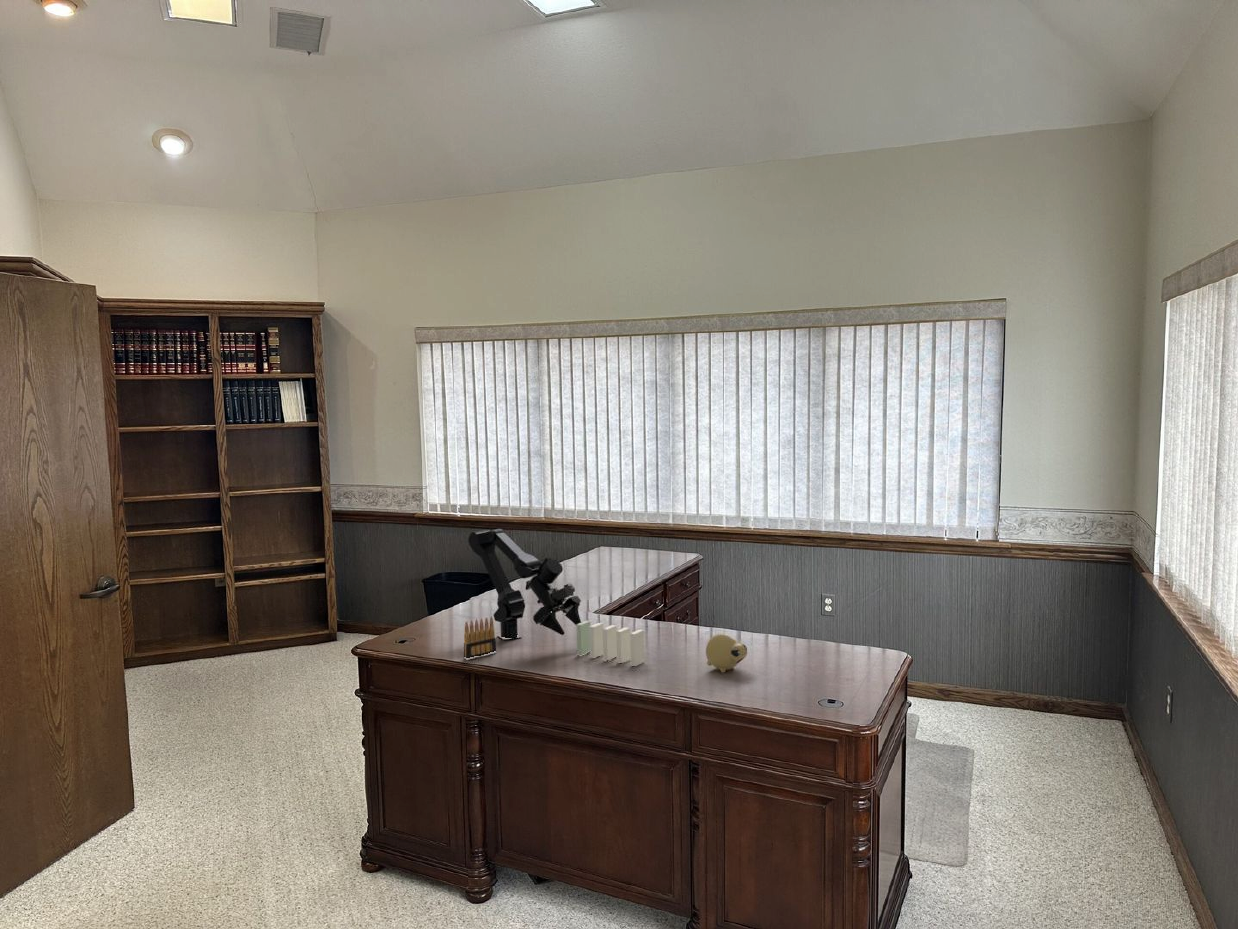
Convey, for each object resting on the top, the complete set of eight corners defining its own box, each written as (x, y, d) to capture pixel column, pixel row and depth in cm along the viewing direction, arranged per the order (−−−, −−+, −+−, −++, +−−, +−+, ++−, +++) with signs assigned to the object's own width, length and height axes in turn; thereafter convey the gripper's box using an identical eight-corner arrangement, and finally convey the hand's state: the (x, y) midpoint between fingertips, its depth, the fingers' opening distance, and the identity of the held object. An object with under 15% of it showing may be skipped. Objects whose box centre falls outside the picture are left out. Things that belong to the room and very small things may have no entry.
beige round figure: (735, 678, 245) (735, 642, 244) (699, 671, 253) (699, 635, 252) (752, 669, 253) (752, 634, 252) (717, 662, 260) (717, 627, 260)
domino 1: (577, 655, 270) (576, 624, 269) (586, 651, 274) (586, 620, 273) (581, 656, 269) (580, 625, 268) (590, 652, 273) (590, 621, 272)
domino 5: (630, 666, 258) (630, 633, 257) (639, 661, 262) (639, 629, 262) (635, 667, 257) (634, 634, 257) (644, 662, 262) (643, 630, 261)
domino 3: (603, 661, 264) (602, 628, 263) (612, 656, 268) (612, 625, 267) (607, 661, 263) (607, 629, 262) (616, 657, 267) (616, 625, 266)
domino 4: (616, 663, 261) (616, 631, 260) (626, 659, 265) (625, 627, 264) (621, 664, 260) (620, 631, 259) (630, 660, 264) (629, 628, 264)
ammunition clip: (466, 660, 267) (465, 622, 266) (463, 659, 269) (462, 621, 268) (496, 653, 274) (495, 616, 273) (493, 652, 275) (492, 615, 274)
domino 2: (590, 658, 267) (589, 626, 266) (599, 654, 271) (598, 622, 270) (594, 659, 266) (593, 627, 265) (603, 654, 270) (603, 623, 269)
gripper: (539, 582, 267) (568, 622, 262) (576, 571, 282) (604, 609, 277) (520, 604, 272) (548, 644, 267) (557, 591, 287) (584, 629, 282)
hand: (572, 630), depth 273 cm, fingers open, 9 cm apart
